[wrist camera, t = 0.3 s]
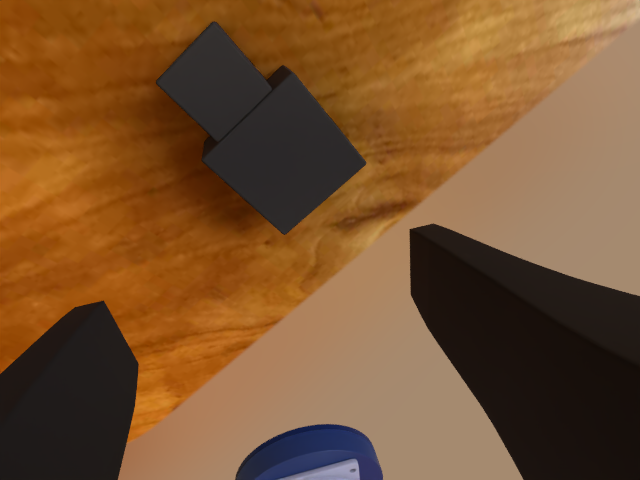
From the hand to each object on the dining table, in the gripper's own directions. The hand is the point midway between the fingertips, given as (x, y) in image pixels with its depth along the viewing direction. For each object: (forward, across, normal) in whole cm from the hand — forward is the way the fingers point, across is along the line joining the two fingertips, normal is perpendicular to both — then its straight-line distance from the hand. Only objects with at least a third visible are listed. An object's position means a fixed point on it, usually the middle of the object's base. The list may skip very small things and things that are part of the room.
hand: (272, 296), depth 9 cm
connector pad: (+11, -1, -2) cm, 11 cm away
